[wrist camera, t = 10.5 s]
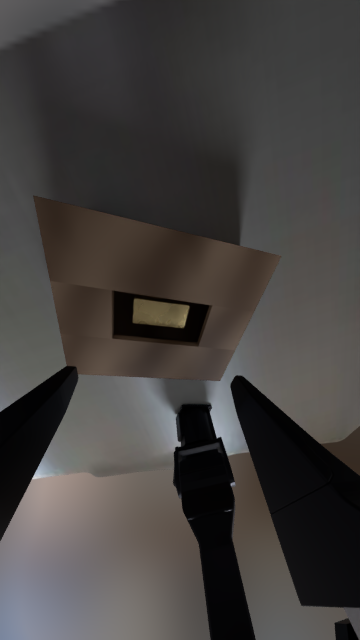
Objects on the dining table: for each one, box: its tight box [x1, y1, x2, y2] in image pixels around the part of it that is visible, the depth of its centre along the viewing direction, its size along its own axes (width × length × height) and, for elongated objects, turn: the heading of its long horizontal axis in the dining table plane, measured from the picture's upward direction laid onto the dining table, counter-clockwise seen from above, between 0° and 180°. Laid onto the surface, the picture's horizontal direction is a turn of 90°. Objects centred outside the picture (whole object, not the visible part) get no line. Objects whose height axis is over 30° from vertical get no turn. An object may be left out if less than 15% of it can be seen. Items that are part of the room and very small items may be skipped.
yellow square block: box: [133, 294, 189, 328], centre depth 17 cm, size 5×2×5 cm, turn 79°
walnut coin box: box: [33, 196, 281, 381], centre depth 16 cm, size 16×14×7 cm
